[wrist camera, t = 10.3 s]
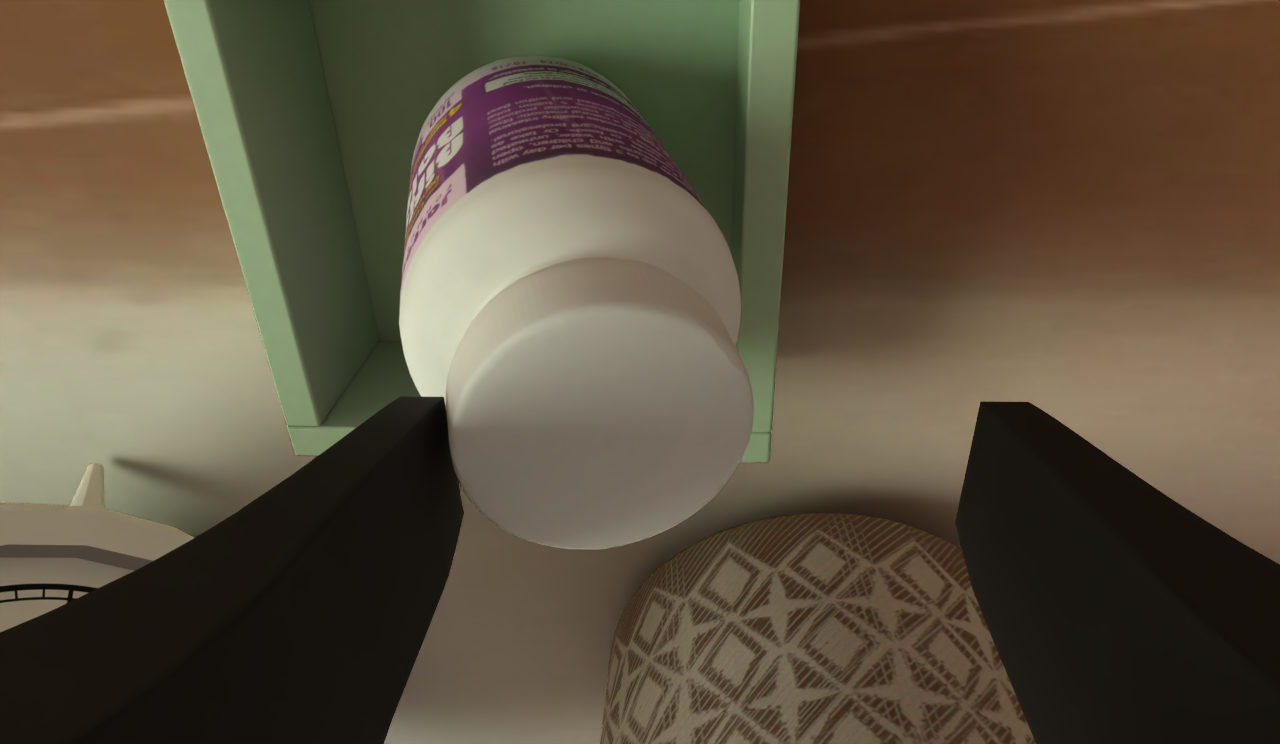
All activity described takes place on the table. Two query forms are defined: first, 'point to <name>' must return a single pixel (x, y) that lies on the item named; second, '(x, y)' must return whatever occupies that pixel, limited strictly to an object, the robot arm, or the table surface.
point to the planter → (810, 642)
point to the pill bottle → (570, 309)
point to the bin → (388, 132)
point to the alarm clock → (71, 549)
